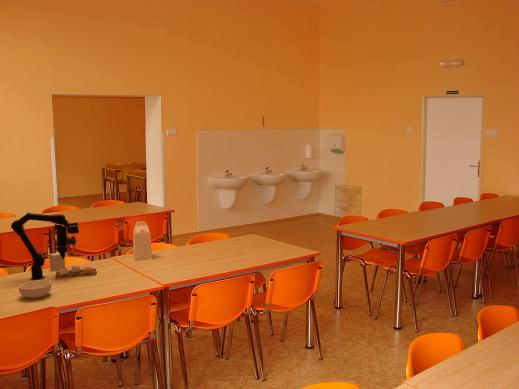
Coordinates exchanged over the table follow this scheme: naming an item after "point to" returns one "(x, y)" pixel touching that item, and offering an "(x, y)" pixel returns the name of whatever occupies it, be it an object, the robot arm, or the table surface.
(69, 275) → the tile tray
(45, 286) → the cereal bowl
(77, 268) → the tile two pip
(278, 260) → the table surface
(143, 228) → the milk
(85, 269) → the tile three pip
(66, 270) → the tile one pip
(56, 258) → the small box
